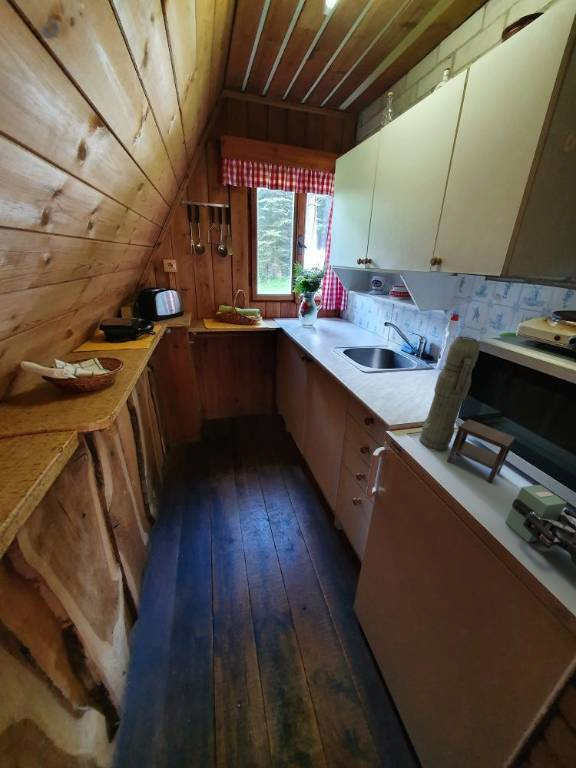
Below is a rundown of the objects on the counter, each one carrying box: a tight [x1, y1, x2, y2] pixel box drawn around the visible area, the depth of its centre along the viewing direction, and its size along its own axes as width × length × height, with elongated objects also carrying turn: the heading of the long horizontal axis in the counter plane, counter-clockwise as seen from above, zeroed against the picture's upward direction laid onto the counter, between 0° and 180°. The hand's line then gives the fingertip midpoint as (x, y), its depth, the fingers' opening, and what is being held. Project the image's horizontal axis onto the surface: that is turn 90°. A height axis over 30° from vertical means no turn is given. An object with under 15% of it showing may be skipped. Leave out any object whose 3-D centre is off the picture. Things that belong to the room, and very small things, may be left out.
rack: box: [446, 418, 516, 484], centre depth 87 cm, size 12×8×12 cm, turn 42°
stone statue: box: [419, 336, 480, 452], centre depth 93 cm, size 9×12×35 cm
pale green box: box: [504, 484, 568, 543], centre depth 66 cm, size 6×6×10 cm
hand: (525, 501), depth 68 cm, fingers closed on pale green box, 5 cm apart
